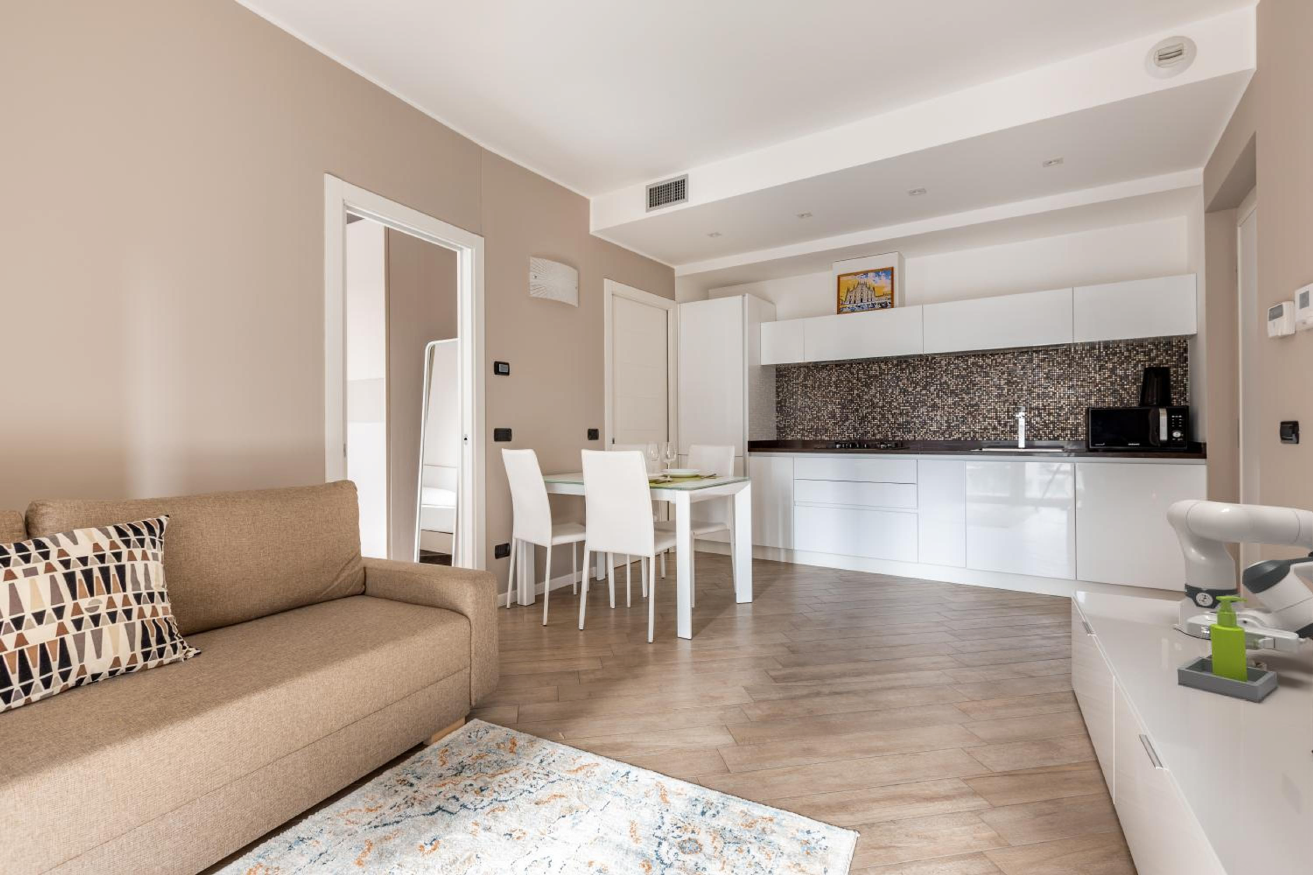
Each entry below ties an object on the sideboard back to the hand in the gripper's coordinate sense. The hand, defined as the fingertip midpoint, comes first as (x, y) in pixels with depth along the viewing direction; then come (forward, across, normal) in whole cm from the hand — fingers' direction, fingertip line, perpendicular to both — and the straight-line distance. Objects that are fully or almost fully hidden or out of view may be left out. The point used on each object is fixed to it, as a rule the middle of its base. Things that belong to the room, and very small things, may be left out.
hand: (1230, 639), depth 149 cm
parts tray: (-9, +2, -10) cm, 13 cm away
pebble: (-10, 0, -8) cm, 12 cm away
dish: (+4, 0, -10) cm, 11 cm away
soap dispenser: (+3, -1, -10) cm, 10 cm away
